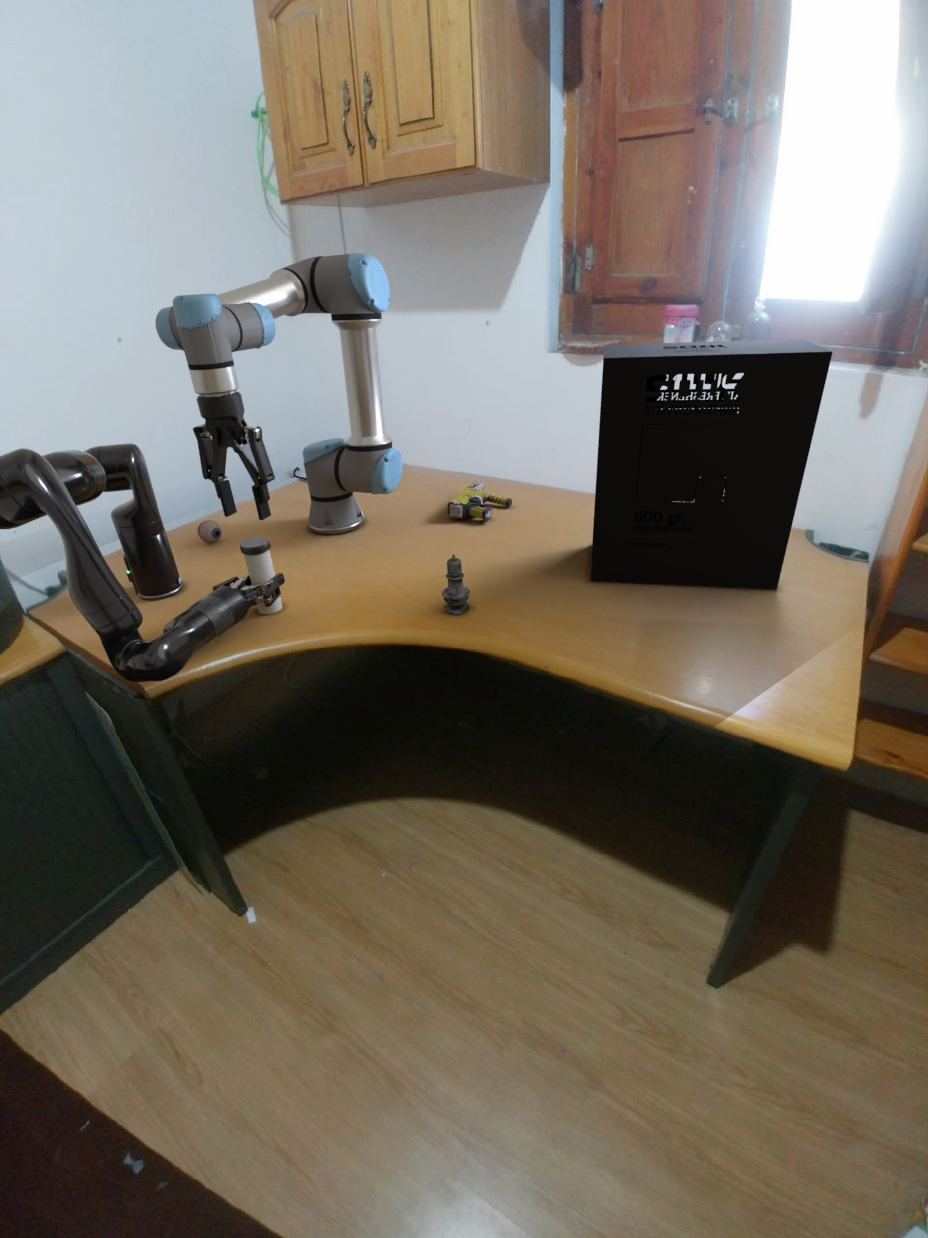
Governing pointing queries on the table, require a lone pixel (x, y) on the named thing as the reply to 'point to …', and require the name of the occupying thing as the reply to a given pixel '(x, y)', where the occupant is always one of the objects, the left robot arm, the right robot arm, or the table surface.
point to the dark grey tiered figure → (455, 588)
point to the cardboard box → (703, 460)
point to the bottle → (262, 577)
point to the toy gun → (474, 503)
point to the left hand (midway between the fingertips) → (271, 575)
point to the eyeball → (209, 531)
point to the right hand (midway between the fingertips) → (247, 515)
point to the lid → (255, 545)
